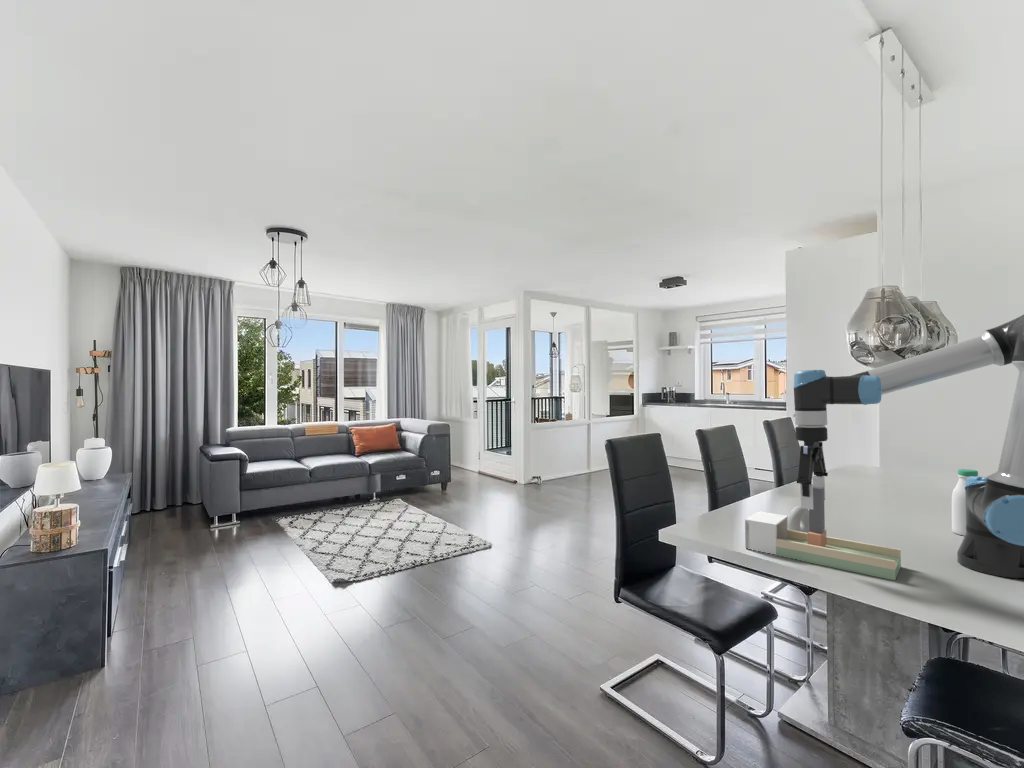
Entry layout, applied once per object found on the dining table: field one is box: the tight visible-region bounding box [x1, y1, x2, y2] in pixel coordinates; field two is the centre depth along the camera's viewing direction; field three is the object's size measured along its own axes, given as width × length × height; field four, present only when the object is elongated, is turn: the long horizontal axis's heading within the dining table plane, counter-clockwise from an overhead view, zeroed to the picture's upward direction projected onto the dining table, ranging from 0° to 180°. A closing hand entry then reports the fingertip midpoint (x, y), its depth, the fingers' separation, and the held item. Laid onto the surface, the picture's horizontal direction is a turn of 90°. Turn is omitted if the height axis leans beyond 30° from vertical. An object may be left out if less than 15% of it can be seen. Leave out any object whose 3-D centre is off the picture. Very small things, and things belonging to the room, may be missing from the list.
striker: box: [808, 486, 827, 547], centre depth 134 cm, size 3×7×16 cm, turn 137°
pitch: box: [744, 510, 902, 581], centre depth 133 cm, size 34×12×8 cm, turn 46°
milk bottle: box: [951, 468, 979, 537], centre depth 152 cm, size 8×8×20 cm
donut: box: [788, 505, 809, 533], centre depth 150 cm, size 10×3×10 cm, turn 122°
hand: (813, 503), depth 134 cm, fingers open, 13 cm apart
